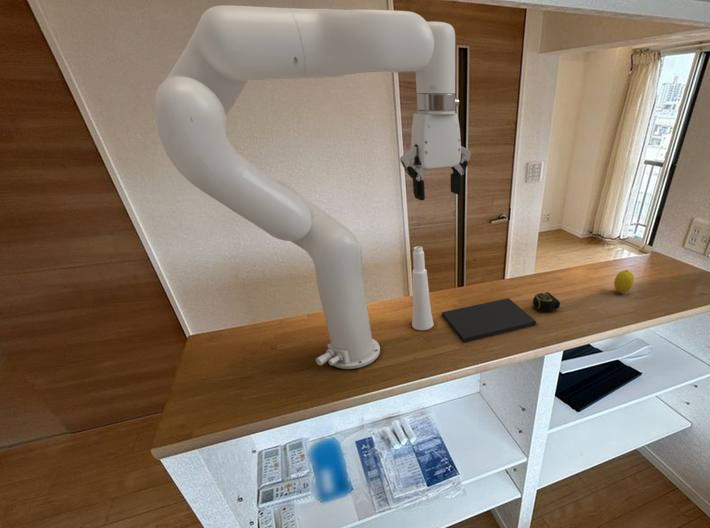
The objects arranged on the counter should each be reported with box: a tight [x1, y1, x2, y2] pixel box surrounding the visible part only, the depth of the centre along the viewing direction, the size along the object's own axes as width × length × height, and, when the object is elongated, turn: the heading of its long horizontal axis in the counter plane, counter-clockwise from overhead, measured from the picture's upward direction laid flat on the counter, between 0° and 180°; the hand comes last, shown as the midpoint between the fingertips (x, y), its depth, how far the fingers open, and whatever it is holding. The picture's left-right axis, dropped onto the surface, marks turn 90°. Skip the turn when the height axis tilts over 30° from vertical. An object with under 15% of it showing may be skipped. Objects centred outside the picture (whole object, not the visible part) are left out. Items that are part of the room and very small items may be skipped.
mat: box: [441, 297, 537, 343], centre depth 104 cm, size 22×15×1 cm
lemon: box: [613, 269, 635, 294], centre depth 117 cm, size 6×6×8 cm
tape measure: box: [532, 291, 561, 312], centre depth 110 cm, size 7×7×4 cm
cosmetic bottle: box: [411, 245, 435, 331], centre depth 96 cm, size 6×6×22 cm
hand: (438, 196), depth 83 cm, fingers open, 9 cm apart
